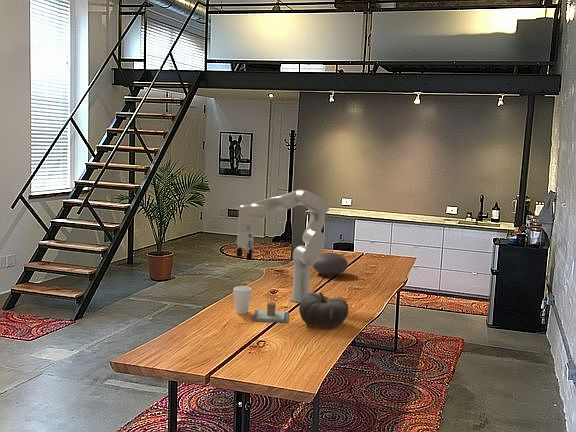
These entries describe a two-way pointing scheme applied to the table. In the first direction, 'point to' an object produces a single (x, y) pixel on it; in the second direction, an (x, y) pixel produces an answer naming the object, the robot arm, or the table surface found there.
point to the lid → (271, 313)
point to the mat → (270, 320)
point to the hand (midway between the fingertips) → (244, 258)
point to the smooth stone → (330, 264)
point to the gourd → (323, 310)
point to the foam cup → (242, 299)
